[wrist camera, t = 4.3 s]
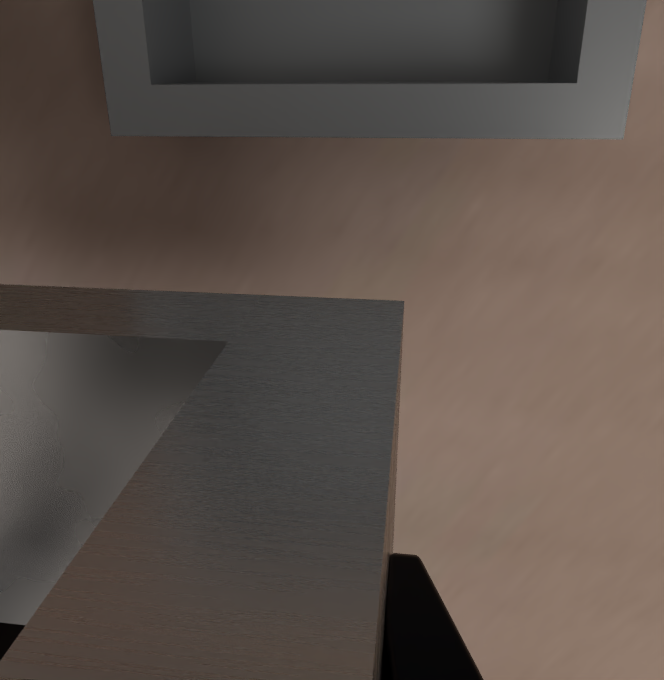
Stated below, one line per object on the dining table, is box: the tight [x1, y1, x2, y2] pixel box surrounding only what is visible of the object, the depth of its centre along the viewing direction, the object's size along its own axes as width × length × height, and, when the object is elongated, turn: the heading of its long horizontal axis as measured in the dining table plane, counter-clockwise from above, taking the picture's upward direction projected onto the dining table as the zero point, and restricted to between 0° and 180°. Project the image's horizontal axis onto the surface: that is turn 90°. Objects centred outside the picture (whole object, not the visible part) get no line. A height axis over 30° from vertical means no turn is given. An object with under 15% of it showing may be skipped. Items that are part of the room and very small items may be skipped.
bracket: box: [0, 284, 404, 680], centre depth 8 cm, size 6×7×8 cm
